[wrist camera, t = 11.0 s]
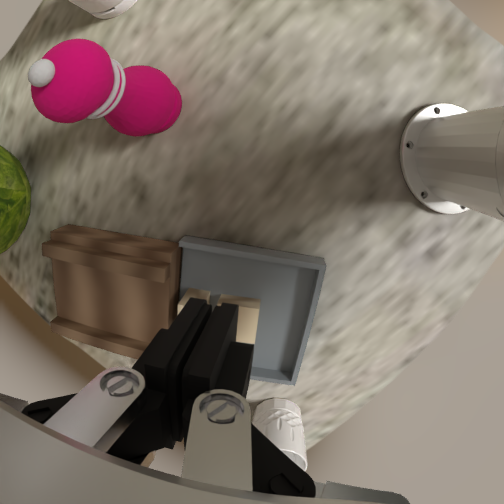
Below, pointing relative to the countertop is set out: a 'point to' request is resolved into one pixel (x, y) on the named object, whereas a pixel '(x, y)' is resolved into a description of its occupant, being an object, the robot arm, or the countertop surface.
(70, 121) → the pepper mill
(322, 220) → the countertop surface
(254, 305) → the chip
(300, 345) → the tray
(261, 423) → the white cup
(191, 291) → the chip
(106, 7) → the bottle
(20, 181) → the lettuce
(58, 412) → the robot arm
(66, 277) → the brown wooden box
